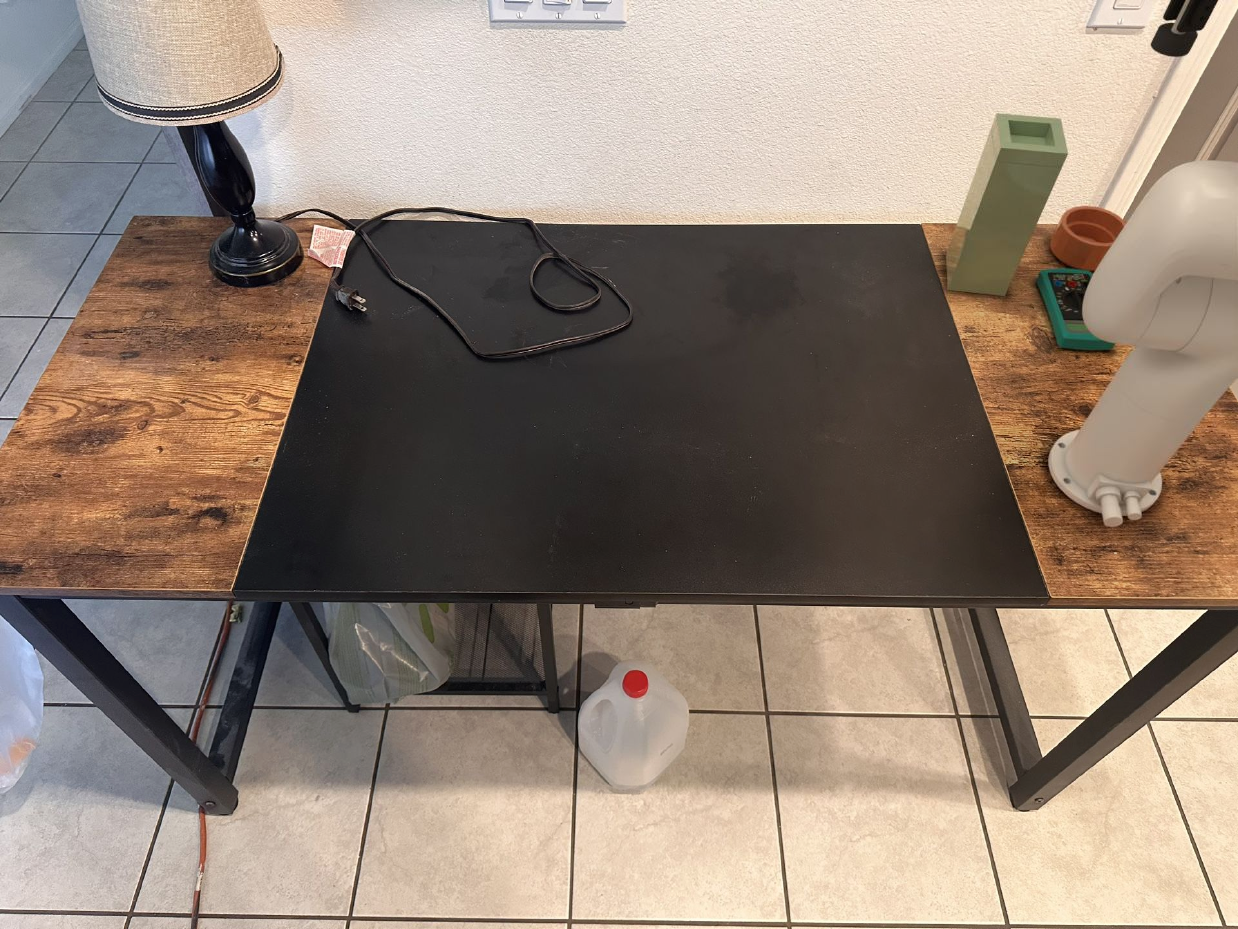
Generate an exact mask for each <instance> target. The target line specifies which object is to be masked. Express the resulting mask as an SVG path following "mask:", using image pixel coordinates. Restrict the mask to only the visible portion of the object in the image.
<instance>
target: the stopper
mask: <svg viewBox="0 0 1238 929" xmlns="http://www.w3.org/2000/svg"><path fill="white" fill-rule="evenodd" d="M1189 1H1190V0H1186V1H1185V3H1184V5H1183V7H1182V9H1181V11H1180V13H1179V15H1178V17H1177V19H1176V20H1174V22H1165V23H1162V24H1160V25H1159V26H1158V28H1157V30H1156V31H1155V33H1154V36H1153V38H1152V40H1151V42H1150V47H1151V49H1152V50H1153V51H1154V52H1156V53H1158V54H1160V55H1162V56H1166V57H1171V58H1181V57H1182V58H1183V57H1185V56H1187V55H1188V54H1190V52H1191V50H1192V48H1193V46H1194V44H1195V42H1196V40H1197V39H1198V36H1199V35H1198V34H1199V33H1198V31H1192V32H1182V33H1180V32H1178V31H1177V30H1176V28H1177V25H1178V23H1179V21H1180V19H1181V17H1182V15H1183V13H1184V11H1185V9H1186V7H1187V5H1188V3H1189Z"/></svg>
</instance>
